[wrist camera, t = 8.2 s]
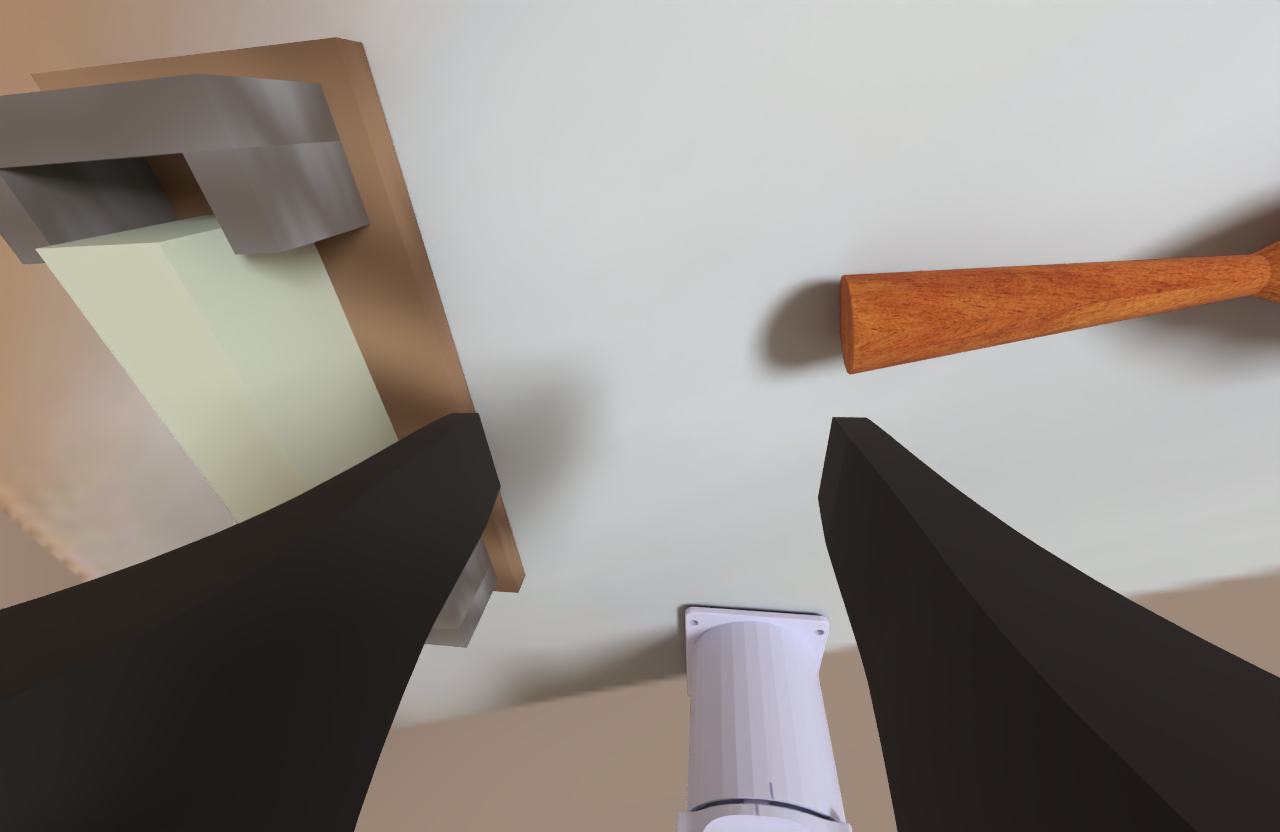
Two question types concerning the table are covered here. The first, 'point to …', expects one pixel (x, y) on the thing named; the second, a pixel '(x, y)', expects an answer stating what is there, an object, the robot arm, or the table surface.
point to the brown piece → (1029, 302)
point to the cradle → (259, 211)
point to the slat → (232, 355)
